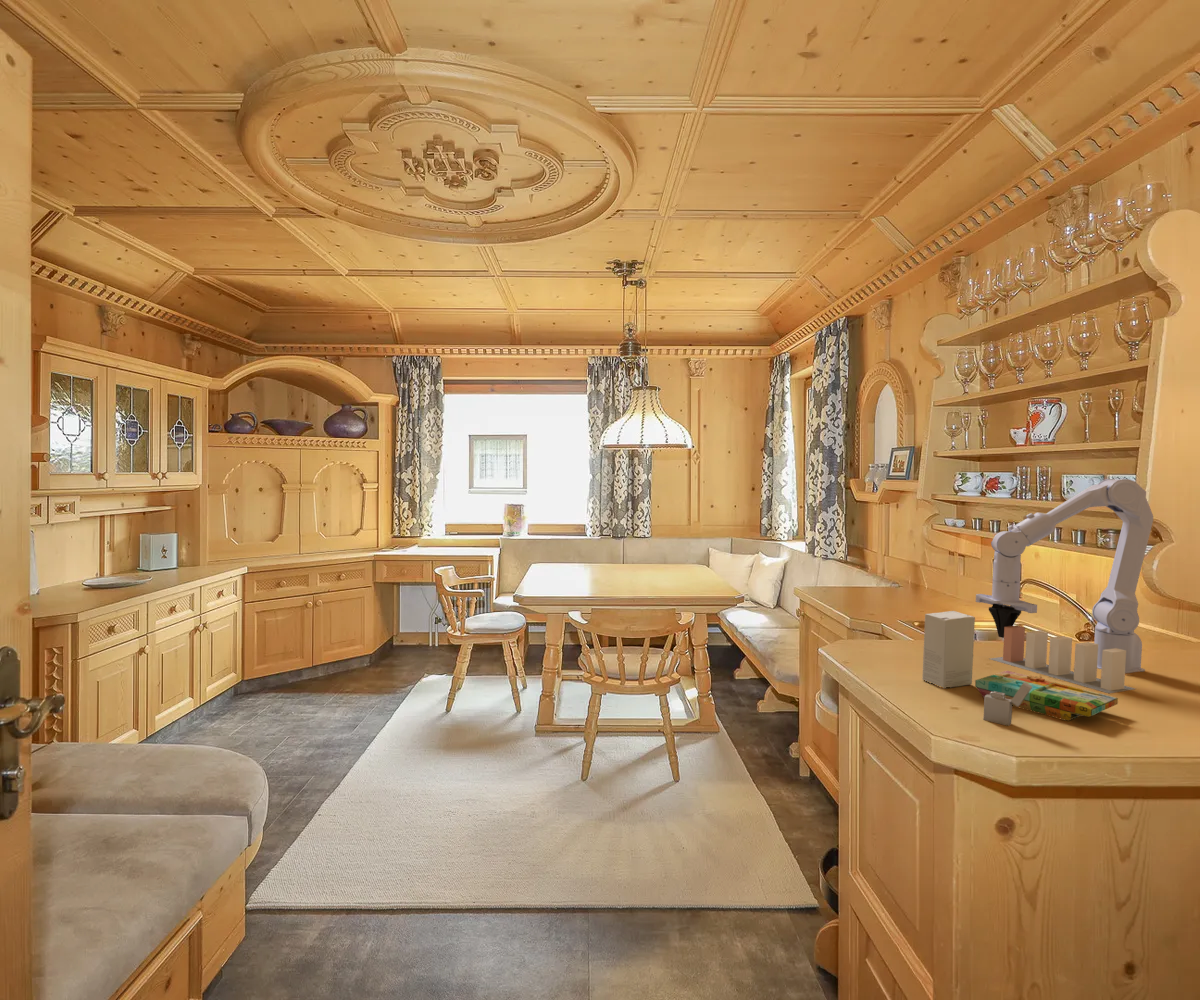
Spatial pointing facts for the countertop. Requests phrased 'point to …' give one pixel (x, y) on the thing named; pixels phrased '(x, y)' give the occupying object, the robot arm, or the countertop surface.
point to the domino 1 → (1013, 643)
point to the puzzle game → (1047, 695)
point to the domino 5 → (1113, 669)
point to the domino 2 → (1036, 649)
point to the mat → (1061, 676)
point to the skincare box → (948, 649)
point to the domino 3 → (1060, 655)
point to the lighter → (1003, 705)
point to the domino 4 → (1085, 662)
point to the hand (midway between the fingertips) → (1003, 637)
